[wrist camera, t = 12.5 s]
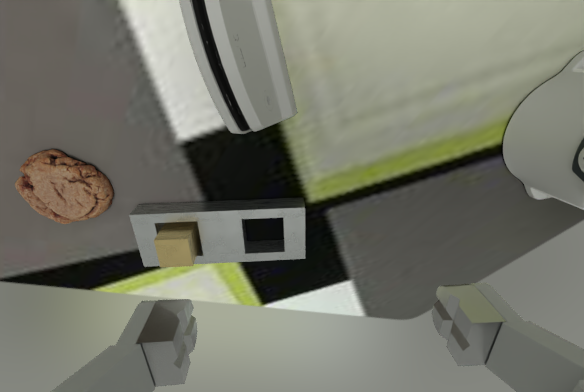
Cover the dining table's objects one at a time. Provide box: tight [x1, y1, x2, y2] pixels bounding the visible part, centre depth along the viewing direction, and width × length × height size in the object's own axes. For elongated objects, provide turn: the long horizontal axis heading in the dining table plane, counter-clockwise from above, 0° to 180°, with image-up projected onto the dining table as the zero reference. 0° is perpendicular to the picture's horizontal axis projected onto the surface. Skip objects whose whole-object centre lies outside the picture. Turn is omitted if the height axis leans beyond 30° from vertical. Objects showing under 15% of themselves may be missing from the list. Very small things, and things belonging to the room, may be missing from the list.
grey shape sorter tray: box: [129, 197, 305, 267], centre depth 40 cm, size 22×8×3 cm, turn 91°
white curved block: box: [179, 0, 298, 134], centre depth 29 cm, size 17×5×10 cm, turn 14°
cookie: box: [15, 149, 114, 224], centre depth 37 cm, size 10×11×3 cm
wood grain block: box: [154, 221, 201, 267], centre depth 39 cm, size 4×4×6 cm
